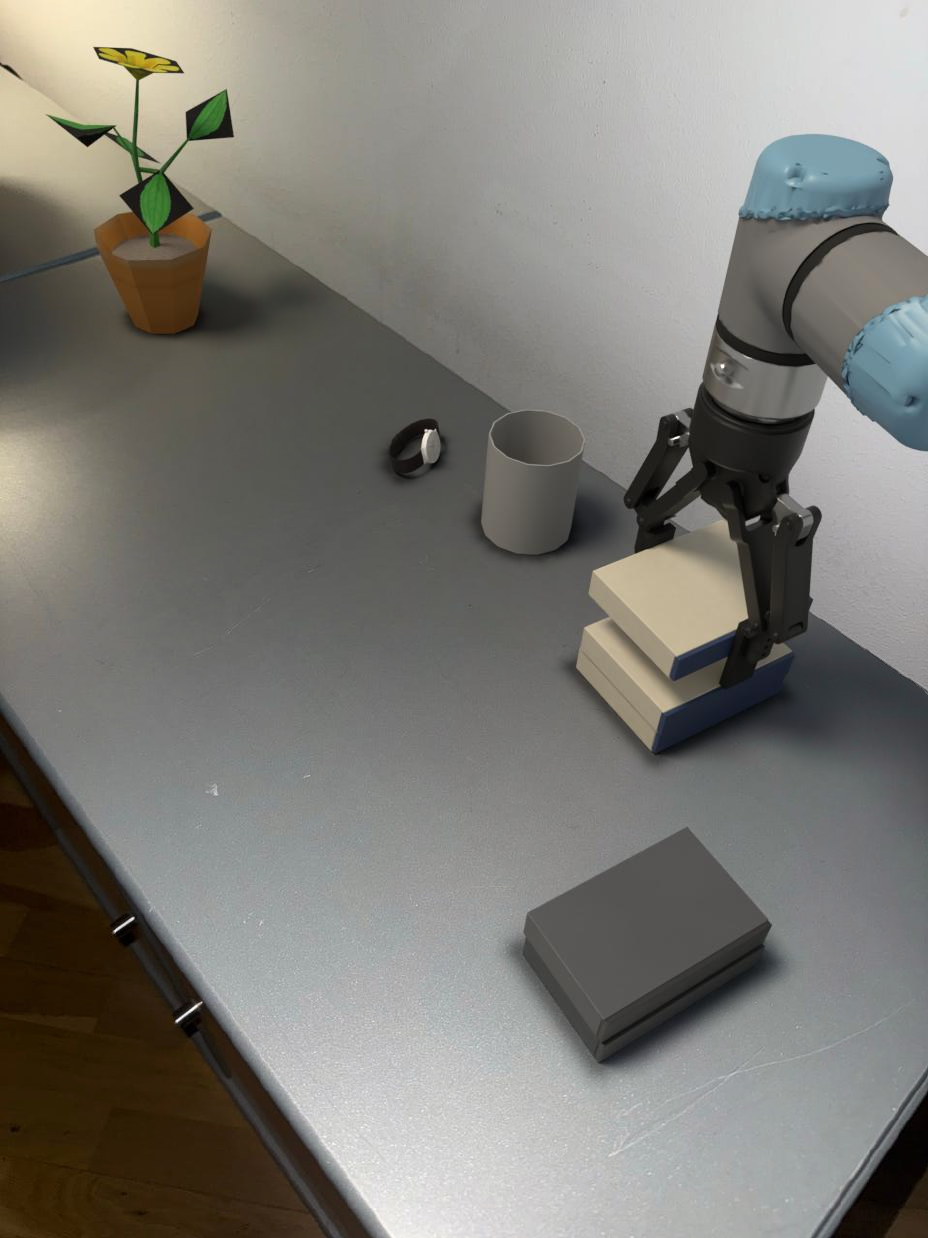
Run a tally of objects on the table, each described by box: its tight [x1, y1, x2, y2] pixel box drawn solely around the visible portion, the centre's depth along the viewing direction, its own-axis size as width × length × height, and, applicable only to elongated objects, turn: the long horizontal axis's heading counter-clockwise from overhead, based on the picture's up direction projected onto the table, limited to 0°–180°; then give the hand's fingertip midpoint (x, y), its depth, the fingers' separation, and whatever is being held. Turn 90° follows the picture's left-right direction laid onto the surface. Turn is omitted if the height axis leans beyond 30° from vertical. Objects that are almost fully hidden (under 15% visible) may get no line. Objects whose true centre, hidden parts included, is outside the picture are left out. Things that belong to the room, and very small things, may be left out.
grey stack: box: [522, 826, 773, 1063], centre depth 70 cm, size 9×13×5 cm, turn 122°
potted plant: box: [45, 46, 235, 335], centre depth 114 cm, size 18×19×30 cm
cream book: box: [588, 519, 814, 682], centre depth 83 cm, size 10×13×2 cm
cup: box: [480, 409, 586, 556], centre depth 98 cm, size 8×8×10 cm
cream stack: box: [575, 616, 796, 754], centre depth 87 cm, size 10×13×5 cm
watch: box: [387, 418, 441, 474], centre depth 107 cm, size 8×5×4 cm, turn 159°
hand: (688, 634), depth 85 cm, fingers closed on cream book, 10 cm apart
